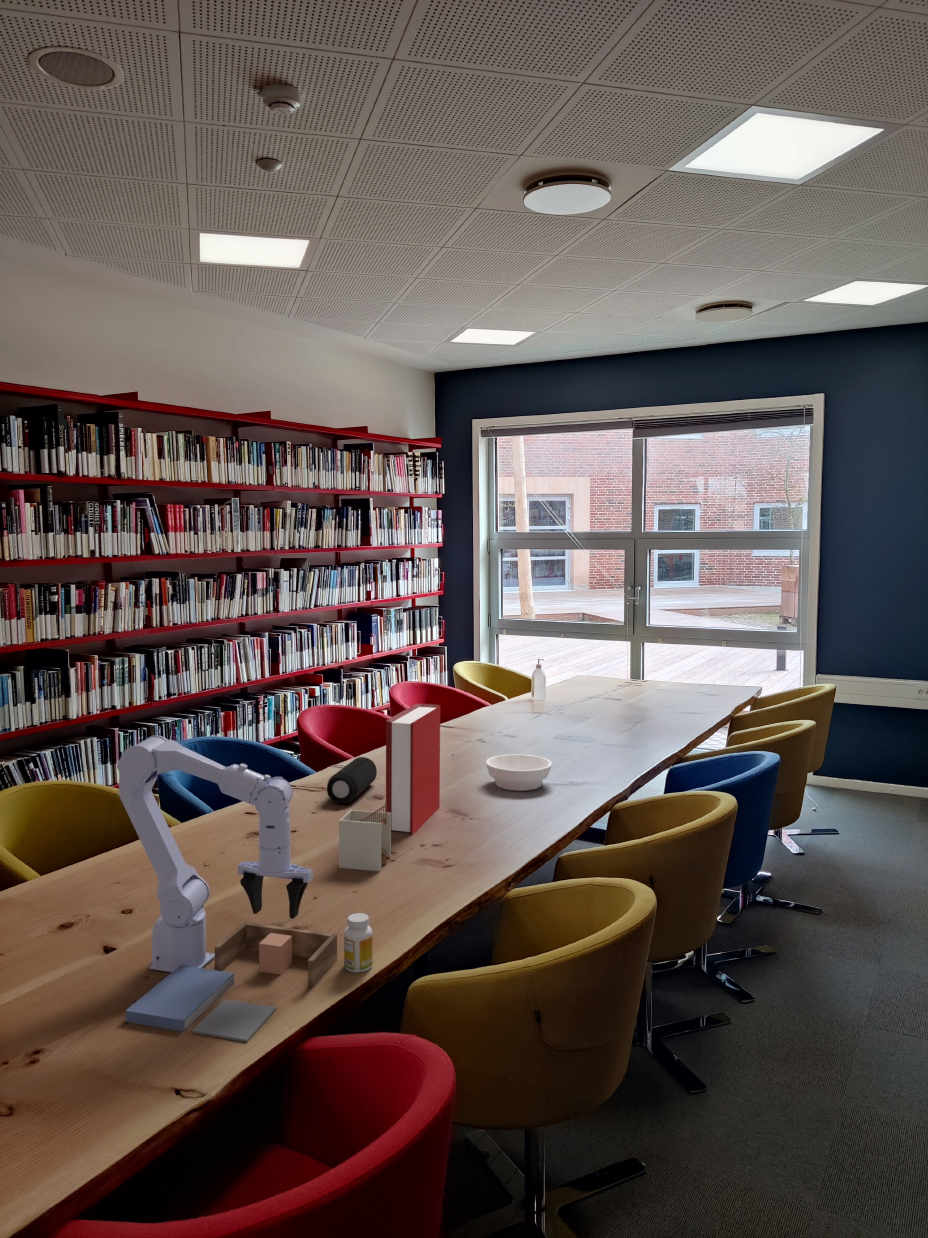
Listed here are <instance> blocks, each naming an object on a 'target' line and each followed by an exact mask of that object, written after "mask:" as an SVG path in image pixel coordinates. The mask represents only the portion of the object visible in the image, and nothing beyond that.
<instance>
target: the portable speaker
mask: <svg viewBox="0 0 928 1238" xmlns="http://www.w3.org/2000/svg"><path fill="white" fill-rule="evenodd" d="M377 773H378V771H377V766H376V764H375V762H374V761H373V760H372V759H370V758H368V757H366V756H365V757H364V756H358V757H356V758H354V759H353V760H352V761H351V762H349V763H348V764H346V765H345V766H344V767H342V768H341V769H340V770H339V771H337V772H336V773H334V774H333V775H332V776H330V777H329V779H328V781H327V785H326V793H327V797H328V798H330V800H331V801H332V802H334V803H337V804H340V805H341V804H342V805H345V804H348V803H351V802H352V801H353V800H354V799H355V798H357V797H358V796H359V795H360V794H361V793H362V792H363V791H364V790H366V789H368V787H369V786H370V785H372V783H374V781H375V780H376V777H377V775H378V774H377Z"/></svg>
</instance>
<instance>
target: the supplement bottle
mask: <svg viewBox="0 0 928 1238" xmlns="http://www.w3.org/2000/svg"><path fill="white" fill-rule="evenodd" d="M369 923H370V918H369V915H368V914H366V913H363V912H361V913H360V912H356V913H352V914H350V915H348V917H347V927H346V928H345V929H344V932H343V945H344V946H343V948H344V949H343V950H344V951H343V953H344V954H343V961H344V962H343V964H344V965H343V966H344V969H345V970H346V971H348V972H349V973H358V974H359V973H364V972H367V971H369V970H371V968H372V967H373V958H374V957H373V956H374V955H373V954H374V953H373V938H374V937H373V929H372V927H371V926H370V925H369Z"/></svg>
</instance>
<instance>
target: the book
mask: <svg viewBox="0 0 928 1238" xmlns="http://www.w3.org/2000/svg"><path fill="white" fill-rule="evenodd" d="M385 723H386V724H385V802H387V813H391V831H397V832H405V833H410V834H411V835H412V836H414V835H415V833H416V832H418V830H419V829H421V827H422V826H423V825H424V824H425V823H426V822H427V821H428V820H429V819H430V818H431V817H432V816H433V815H434V814H435V813H436V812H438V810H439V809H440V800H441V799H440V794H441V793H440V788H441V787H440V786H441V785H440V783H441V781H440V780H441V778H440V777H441V705H440V704H432V703H416V704H413V705H412V706H410V707H408V708H406V709H404V710H402V711H401V712H399V713H397V714H395V715H394V716H391V717H390V718H388V719H386V720H385Z"/></svg>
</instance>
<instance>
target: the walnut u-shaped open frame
mask: <svg viewBox="0 0 928 1238" xmlns="http://www.w3.org/2000/svg"><path fill="white" fill-rule="evenodd" d="M270 933H275V934H282V935H289V936H292V957H299V958H307V959H308V960H307V987H308V988H314V987H315V986H316V985H317V984H318V983H319V981H320V980H321V979H322V978H323V977H324V976H325V975H326V973H327V972H328V971H329V970H330V968H331V967H332V966H333V965H334V964H335V963H336V962H337V960H338V934H336V933H330V932H322V931H314V930H308V929H298V928H292V927H286V926H285V927H284V926H278V925H270V924H263V923H256V922H248V921H243V922H242V923H241V924H240V925H239V926H238V927H236V928H235V929H234V930H233V931H231V932H230V933H229V934H228V935H226V937H224V938H223V939H222V940H221V941H220V942H219V943H217V944H216V945H215V946H214V954H215V957H214V970H216V971H222V972H224V970H225V969H226V968H228V966H230V964H231V963H233V962H234V961H235V960H236V959H237V958H238V957H239V956H241V955H242V954H243V953H244V952H245V951H246V950H252V951H258V952H259V943H260V942H261V941H262V940H263V939H265V938H266V937H267V936H268V935H269V934H270Z"/></svg>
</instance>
